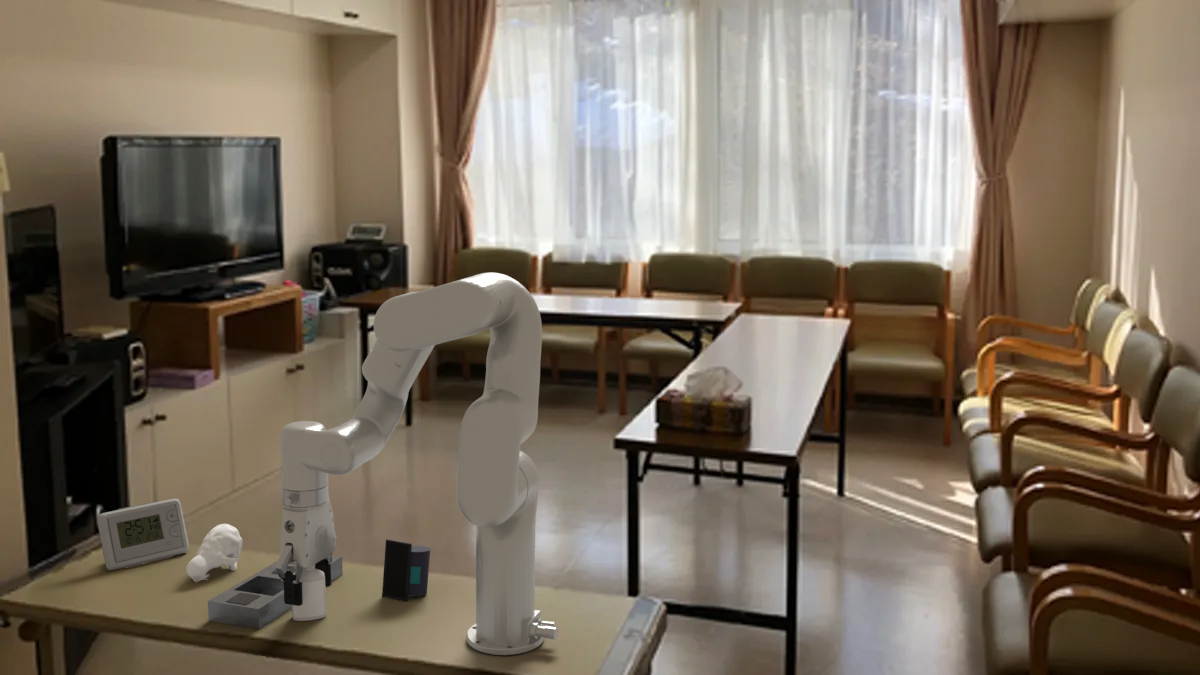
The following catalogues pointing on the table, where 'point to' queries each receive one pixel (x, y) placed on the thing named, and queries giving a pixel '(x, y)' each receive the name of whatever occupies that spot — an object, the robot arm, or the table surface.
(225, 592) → the rail
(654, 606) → the table surface
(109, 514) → the digital clock
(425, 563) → the speaker
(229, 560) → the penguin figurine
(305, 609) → the eye dropper bottle
